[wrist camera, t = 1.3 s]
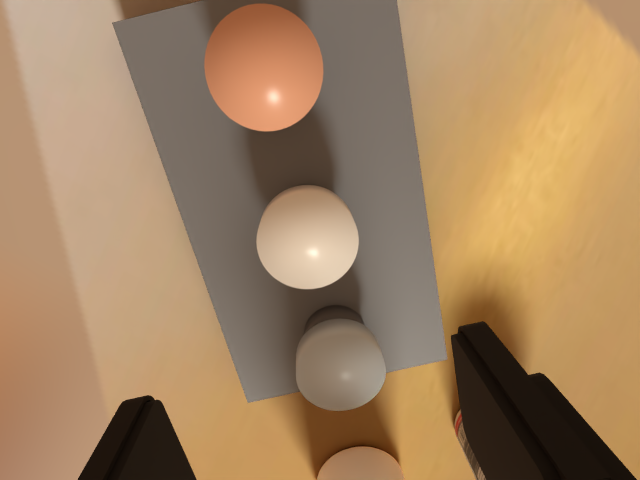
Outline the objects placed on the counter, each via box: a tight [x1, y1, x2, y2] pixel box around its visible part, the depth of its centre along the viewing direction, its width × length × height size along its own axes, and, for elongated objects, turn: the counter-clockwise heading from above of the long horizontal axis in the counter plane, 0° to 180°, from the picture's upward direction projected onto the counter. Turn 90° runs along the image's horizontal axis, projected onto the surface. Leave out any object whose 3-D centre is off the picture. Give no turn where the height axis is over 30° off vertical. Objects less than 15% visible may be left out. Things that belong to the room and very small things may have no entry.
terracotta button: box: [204, 4, 323, 131], centre depth 18 cm, size 5×5×2 cm
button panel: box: [112, 0, 447, 403], centre depth 25 cm, size 14×24×3 cm, turn 13°
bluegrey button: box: [296, 318, 386, 411], centre depth 24 cm, size 5×5×2 cm
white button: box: [256, 185, 359, 289], centre depth 21 cm, size 5×5×2 cm
